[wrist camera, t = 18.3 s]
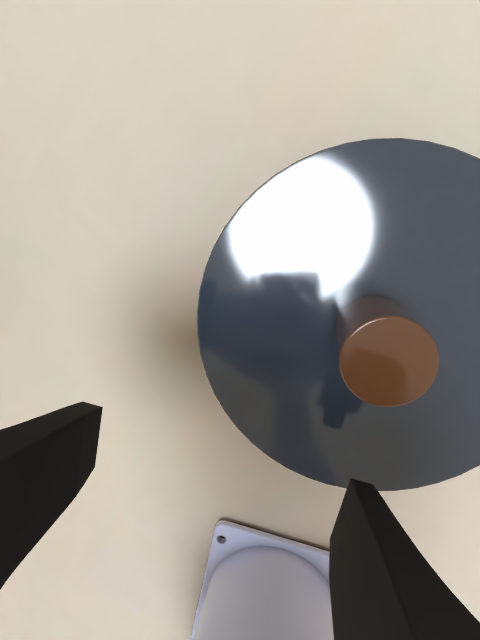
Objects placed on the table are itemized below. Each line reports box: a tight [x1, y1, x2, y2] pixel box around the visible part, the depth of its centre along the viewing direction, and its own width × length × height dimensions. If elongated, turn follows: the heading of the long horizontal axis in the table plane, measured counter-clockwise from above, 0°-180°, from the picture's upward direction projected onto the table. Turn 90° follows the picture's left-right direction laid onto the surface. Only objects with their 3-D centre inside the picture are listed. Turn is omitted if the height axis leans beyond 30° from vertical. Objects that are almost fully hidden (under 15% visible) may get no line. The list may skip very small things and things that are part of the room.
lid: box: [197, 138, 480, 491], centre depth 13 cm, size 12×12×4 cm
